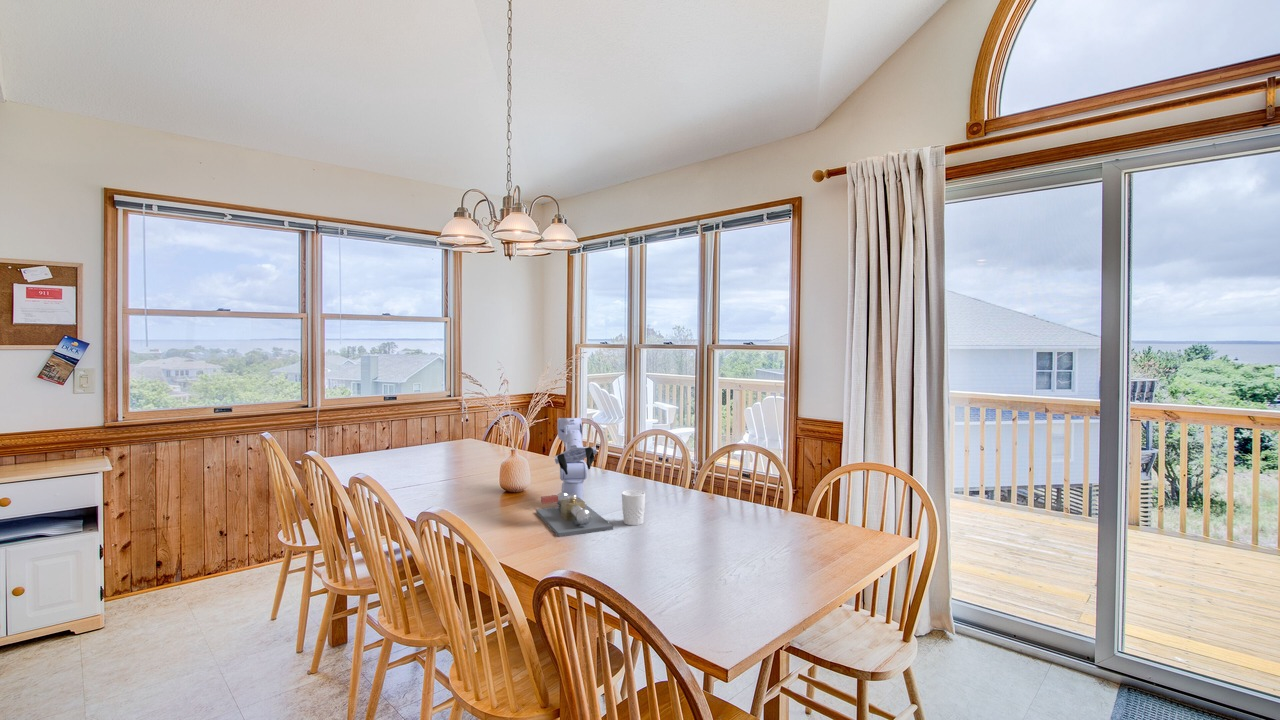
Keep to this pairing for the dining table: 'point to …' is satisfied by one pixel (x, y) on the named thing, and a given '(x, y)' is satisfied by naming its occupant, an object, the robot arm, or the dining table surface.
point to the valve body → (574, 510)
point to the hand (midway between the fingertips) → (577, 469)
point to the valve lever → (557, 498)
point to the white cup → (633, 507)
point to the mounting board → (566, 527)
